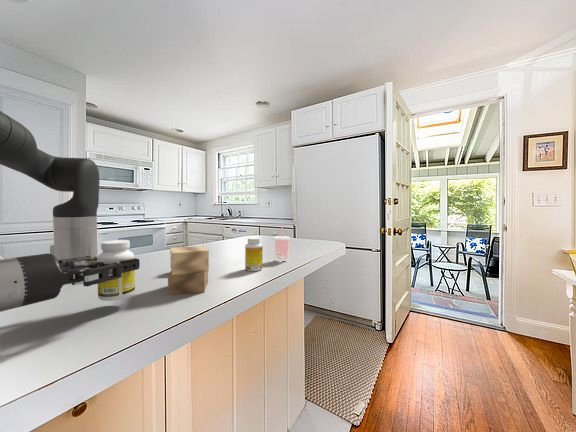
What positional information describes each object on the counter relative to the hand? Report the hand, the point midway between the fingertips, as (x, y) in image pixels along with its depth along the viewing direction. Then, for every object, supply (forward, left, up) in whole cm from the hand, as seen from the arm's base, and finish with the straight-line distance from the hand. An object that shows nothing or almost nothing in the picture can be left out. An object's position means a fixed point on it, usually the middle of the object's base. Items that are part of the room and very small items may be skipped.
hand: (128, 261), depth 52 cm
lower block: (+9, +10, -9) cm, 16 cm away
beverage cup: (+32, +41, -9) cm, 52 cm away
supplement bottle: (+23, +28, -9) cm, 37 cm away
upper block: (+9, +10, -4) cm, 14 cm away
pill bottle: (-1, -2, -7) cm, 7 cm away
